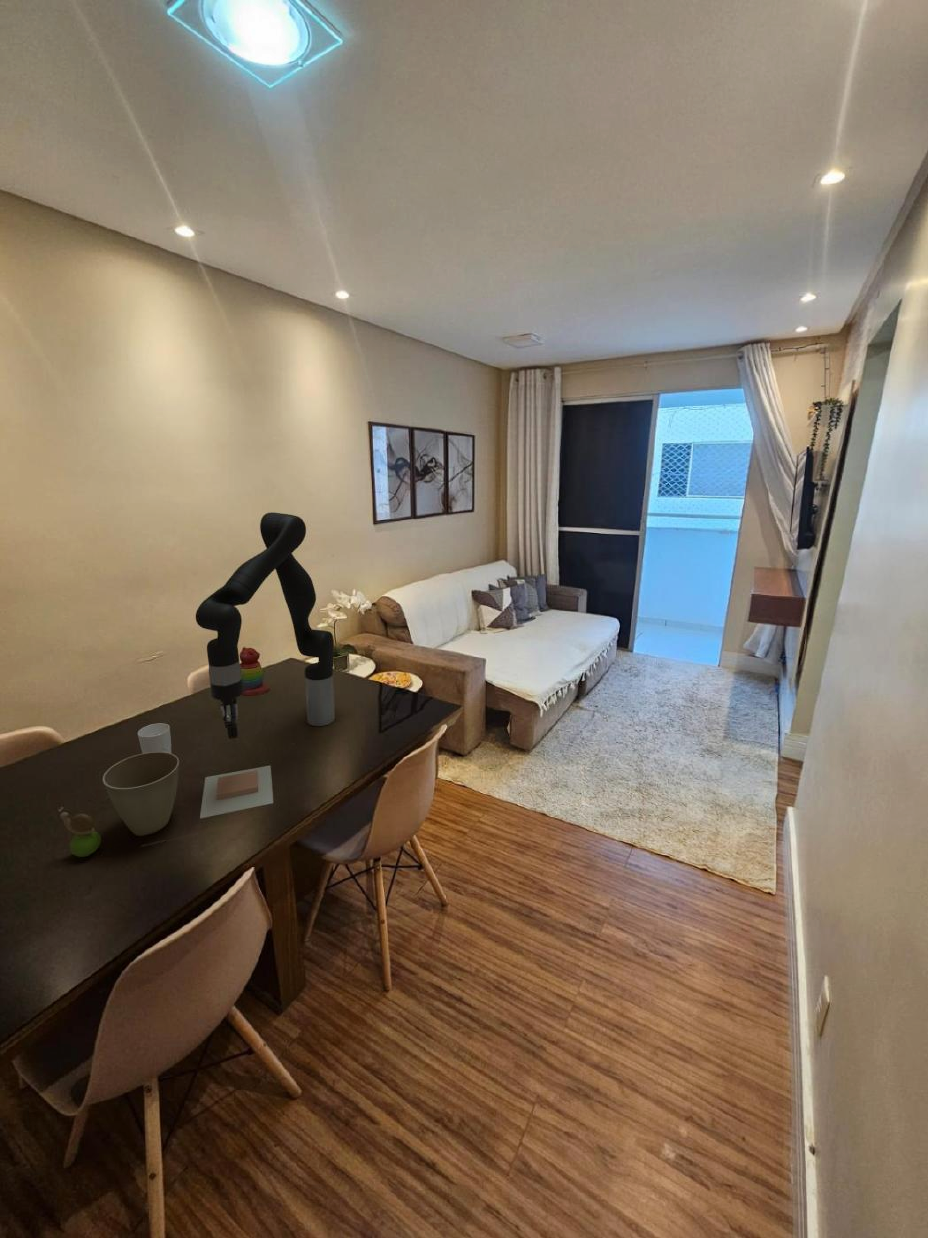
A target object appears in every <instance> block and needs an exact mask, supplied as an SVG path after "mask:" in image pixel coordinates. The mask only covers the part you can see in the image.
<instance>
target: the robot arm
mask: <svg viewBox="0 0 928 1238" xmlns="http://www.w3.org/2000/svg"><path fill="white" fill-rule="evenodd" d="M306 527H307V526H306V523H305V521H304V520H303V518H301V517H300V516H297V515H294V514H288V513H281V512H275V511H274V512H271V511H270V512H267V513H265V514H264V515H262V518H261V520H260V523H259V529H260V530H259V531H260V536H261V538H262V541H263V543H264V546H265V547H266V549H264V550H263V551H261V552H259V553H258V554H256V555H254V556H252V557H251V558H249V559H248V560H246V561H245V562H243V563H242V564H241V565H240V566H239V567H237V568H236V570H235V571H234V572H233V573H232V575H231V576H230V577H229V579H228V580H227V581H225V584H224V585H223V586H221V587H220V588H218V589H216V590H215V591H214V592H213V593H212V594H210V595H209V596H208V597H206V598H205V599H204V600H203V601H202V602H201V603H200V605H199V606H198V608H197V610H196V612H195V621H196V624H197V625H198V626H199V627H200V628H201V629H204V630H209V631H213V632H217V637H216V638H214V639H213V638H212V639H210V641H209V642H207V645H206V653H207V655H206V656H207V661H208V677H209V685H210V692H211V697H212V698H213V699H214V700H217V701H220V705H219V707H220V711H221V712H222V720H223V723H224V727H225V728H226V729H227V736H228V739H230V740H231V739H236V738H238V735H239V733H238V716H239V715H238V713H239V711H238V710H239V709H238V706H239V704H238V703H239V700H238V698H239V697H240V696H242V694H243V692H244V689H243V680H242V671H241V665H240V663H241V661H240V653H239V647H238V644H239V641H240V634H241V630H242V629H241V627H242V623H243V622H242V620H243V619H242V615H241V613H240V610H239V609H238V608H237V607H236V606H240V605H246V604H247V603H249V602H250V601H251V599H252V598H253V597H254V595H255V594H256V592H257V591H258V590H259V589H260V587H261V586H262V584H263V583H264V582H265V581H266V579H267V578H268V577H269V576H270V575H271V574H272V573H273V572H274V571H275V572H276V575H277V578H278V580H279V584H280V587H281V591H282V594H283V597H284V600H285V603H286V605H287V608H288V612H289V615H290V619H291V623H292V625H293V631H294V636H295V641H296V646H297V649H298V651H299V654H300V655H302V656H305V657H311V658H318V660H317V661H318V662H314V663H311V664H309V665H307V666H306V667H305V668H304V680H305V681H304V684H305V685H304V686H305V699H306V719H307V720H306V721H307V723H308V724H309V725H310V726H314V727H324V726H328V725H330V724H332V723H333V722H334V721H335V720H334V719H335V693H334V663H335V662H334V661H335V660H334V659H335V657H334V656H335V655H334V654H335V653H334V652H335V639H334V635H333V633H332V632H331V631H328V630H321V629H312V627H311V625H310V622H309V617H310V615H311V613H312V611H313V609H314V606H315V604H316V601H317V596H316V595H317V594H316V590H315V587H314V583H313V580H312V578H311V575H310V574H309V573H308V572H307V570H306V569H305V568H304V567H303V566H302V565H301V564H300V562H299V561H298V560H297V559H296V558H295V556H294V554H293V553H294V552H295V551H296V550H297V549H298V548H299V547H300V546H301V544H302V543H303V541H304V540H305V538H306V534H307V528H306Z"/></svg>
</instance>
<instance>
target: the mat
mask: <svg viewBox="0 0 928 1238" xmlns="http://www.w3.org/2000/svg"><path fill="white" fill-rule="evenodd" d="M271 768H272V765H265V766H261V767H255V768H249V769H243V770H239V771H238V770H237V771H233V772H228V773H221V774H217V775H212V776H211V775H210V776H206V777H205V779H204V784H203V785H204V787H203V793H202V801H201V808H200V815H199V819H203V818H204V819H206V818H209V817H214V816H218V815H223V814H228V813H232V812H238V811H242V810H248V809H252V808H256V807H261V806H266V805H271V804H274V794H273V781H272V769H271ZM252 771H258V792H254V793H249V794H244V795H239V796H234V797H229V798H224V799H219V800H217V797H216V793H217V783H218V778H219V777H225V776H230V775H235V774H241V773H246V772H252Z"/></svg>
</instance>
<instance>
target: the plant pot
mask: <svg viewBox="0 0 928 1238" xmlns="http://www.w3.org/2000/svg"><path fill="white" fill-rule="evenodd" d="M179 768H180V759H179V758H178V756H177V755H176V754H173V753H172V752H171V753H167V752H149V753H140V754H139V753H138V754H136V755H132V756H130V757H129V756H128V757H127V758H125V759H122V760H120V761H119V762H117V763H115V764H114V765H112V766H111V767H109V768H108V769H107V770H106V771H105V772H104V774H103V776H102V783H103V785H104V788H105V790H106V793H107V795H108V797H109V799H110V801H111V803H112V805H113V807H114V808H115V809H114V810H116V812H117V814H118V815H119V817H120V819H121V820H122V821H123V823H124V824H125V825H126V827H127V828H128V829H129V830H130V832H132V833H133V834H134V835H135V836H138V837H144V836H146V835H151V834H154V833H156V832H159V831H160V830H161V829H163V828H164V827H166V826H167V824H168V823H169V821H170V818H171V815H172V812H173V807H174V804H175V800H176V795H177V790H178V782H179Z"/></svg>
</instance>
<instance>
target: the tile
mask: <svg viewBox="0 0 928 1238" xmlns="http://www.w3.org/2000/svg"><path fill="white" fill-rule="evenodd" d="M254 792H258V771H252V772H246V773H241V774H235V775H230V776H225V777H219V778H218V783H217V793H216V797H217V800H219V799H224V798H229V797H234V796H239V795H244V794H249V793H254Z"/></svg>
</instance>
